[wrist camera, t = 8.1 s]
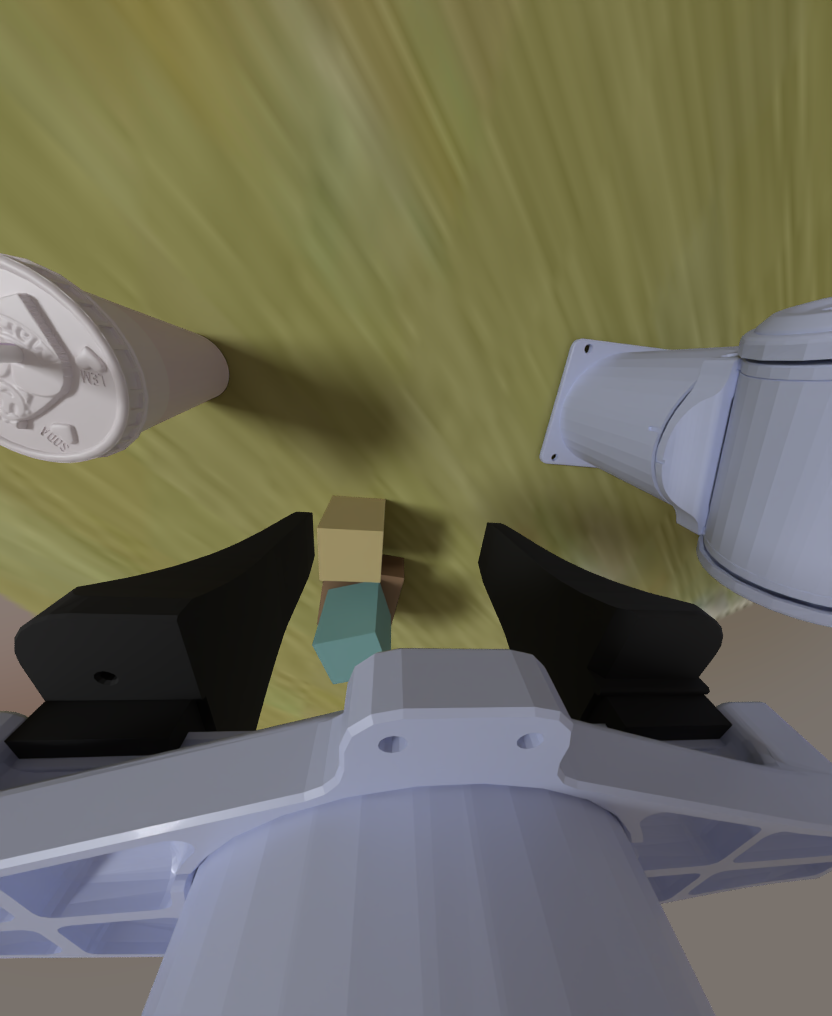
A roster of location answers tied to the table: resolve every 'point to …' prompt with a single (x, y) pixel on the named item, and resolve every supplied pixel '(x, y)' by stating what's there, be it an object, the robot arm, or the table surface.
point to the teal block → (352, 628)
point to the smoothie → (90, 368)
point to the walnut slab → (389, 582)
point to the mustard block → (351, 539)
